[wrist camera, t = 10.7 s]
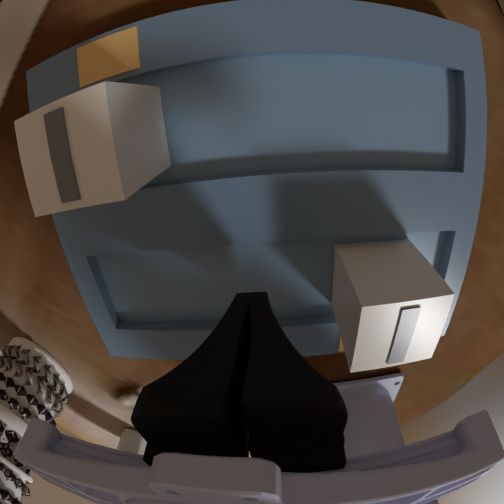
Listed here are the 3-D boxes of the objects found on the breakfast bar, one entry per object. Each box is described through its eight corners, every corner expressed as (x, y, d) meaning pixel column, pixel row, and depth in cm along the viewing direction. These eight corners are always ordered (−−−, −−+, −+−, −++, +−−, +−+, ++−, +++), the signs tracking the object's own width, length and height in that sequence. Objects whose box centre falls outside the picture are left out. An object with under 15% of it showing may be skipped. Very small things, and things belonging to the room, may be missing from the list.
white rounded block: (112, 433, 28) (87, 512, 17) (130, 424, 26) (103, 517, 15) (141, 448, 29) (122, 526, 19) (163, 441, 27) (143, 530, 17)
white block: (398, 296, 15) (431, 359, 11) (331, 304, 15) (350, 374, 11) (408, 239, 13) (456, 295, 9) (334, 244, 14) (362, 308, 9)
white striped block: (171, 165, 12) (123, 201, 8) (96, 179, 13) (33, 218, 8) (159, 87, 11) (103, 81, 6) (83, 109, 11) (12, 121, 7)
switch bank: (432, 316, 17) (445, 336, 16) (121, 336, 19) (110, 357, 17) (457, 35, 9) (480, 30, 7) (48, 71, 11) (24, 71, 9)
